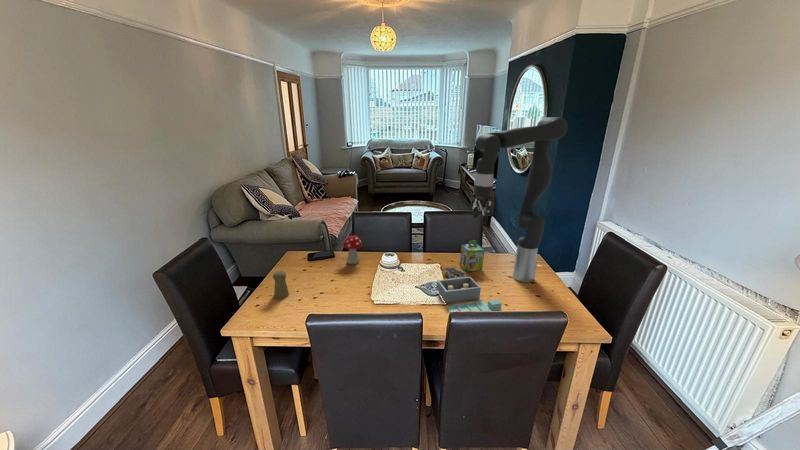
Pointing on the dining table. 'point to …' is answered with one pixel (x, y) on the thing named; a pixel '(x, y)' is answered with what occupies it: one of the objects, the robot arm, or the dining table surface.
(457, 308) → the lid
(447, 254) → the dining table surface
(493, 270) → the dining table surface
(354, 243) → the decorative mushroom
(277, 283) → the olive pawn figure
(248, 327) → the dining table surface
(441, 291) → the tub
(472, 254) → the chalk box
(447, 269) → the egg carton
